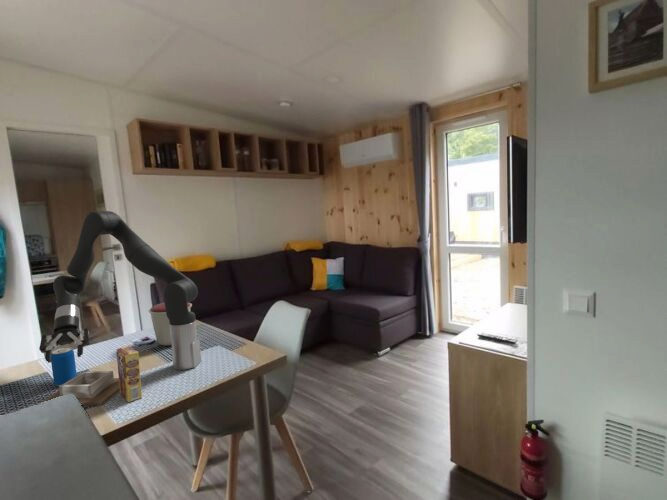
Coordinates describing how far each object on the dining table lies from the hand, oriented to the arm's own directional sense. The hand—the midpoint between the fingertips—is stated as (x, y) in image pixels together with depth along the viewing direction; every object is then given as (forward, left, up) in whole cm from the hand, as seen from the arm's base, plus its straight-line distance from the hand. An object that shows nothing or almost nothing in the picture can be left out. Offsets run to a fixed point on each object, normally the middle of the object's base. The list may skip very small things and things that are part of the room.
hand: (64, 358), depth 121 cm
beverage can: (-1, +1, -9) cm, 9 cm away
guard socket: (-15, +9, -8) cm, 19 cm away
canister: (-21, -37, -9) cm, 43 cm away
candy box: (-31, +11, -9) cm, 34 cm away
